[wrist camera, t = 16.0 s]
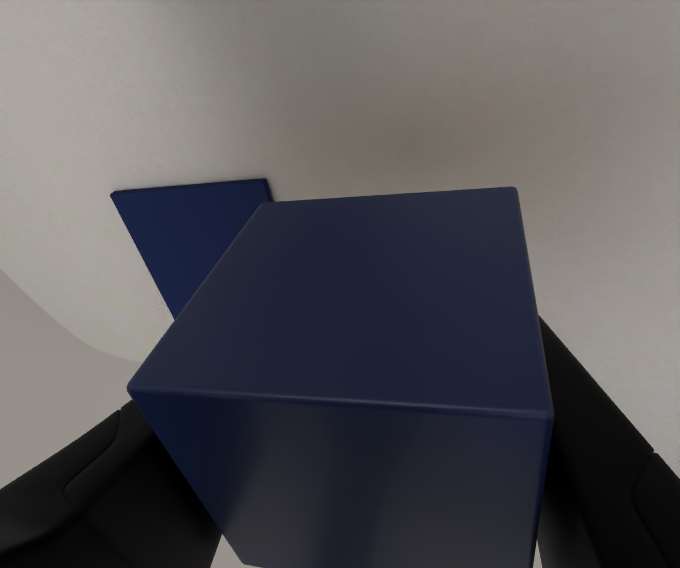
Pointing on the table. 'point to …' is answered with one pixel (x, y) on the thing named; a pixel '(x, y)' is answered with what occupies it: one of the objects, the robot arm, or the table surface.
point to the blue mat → (187, 229)
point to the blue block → (363, 385)
